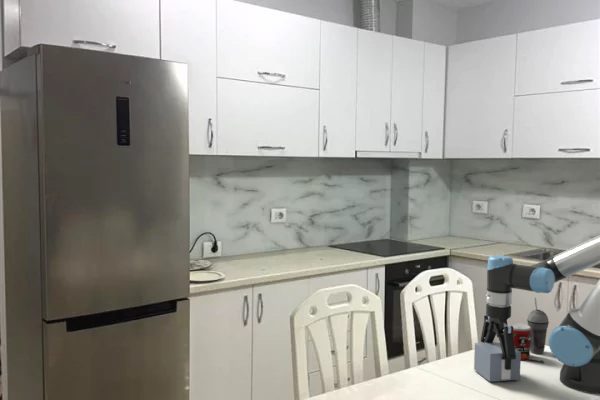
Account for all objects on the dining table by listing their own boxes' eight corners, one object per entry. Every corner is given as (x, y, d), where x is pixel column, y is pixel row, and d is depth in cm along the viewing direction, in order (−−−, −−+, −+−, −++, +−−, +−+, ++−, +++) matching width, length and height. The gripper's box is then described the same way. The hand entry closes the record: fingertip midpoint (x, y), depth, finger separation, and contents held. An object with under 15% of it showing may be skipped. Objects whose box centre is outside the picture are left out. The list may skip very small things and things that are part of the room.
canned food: (511, 360, 190) (512, 329, 189) (503, 352, 198) (504, 322, 197) (533, 360, 189) (534, 329, 189) (524, 352, 197) (525, 322, 197)
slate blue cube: (502, 367, 181) (503, 341, 180) (519, 379, 171) (520, 352, 170) (474, 369, 179) (474, 343, 179) (489, 381, 169) (490, 353, 168)
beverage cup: (550, 356, 193) (552, 301, 192) (528, 354, 195) (530, 299, 193) (545, 349, 200) (547, 296, 199) (524, 348, 202) (525, 295, 201)
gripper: (471, 296, 184) (469, 360, 185) (506, 314, 162) (504, 387, 163) (491, 295, 185) (489, 359, 187) (530, 313, 163) (527, 385, 164)
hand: (496, 372), depth 175 cm, fingers closed on slate blue cube, 10 cm apart
